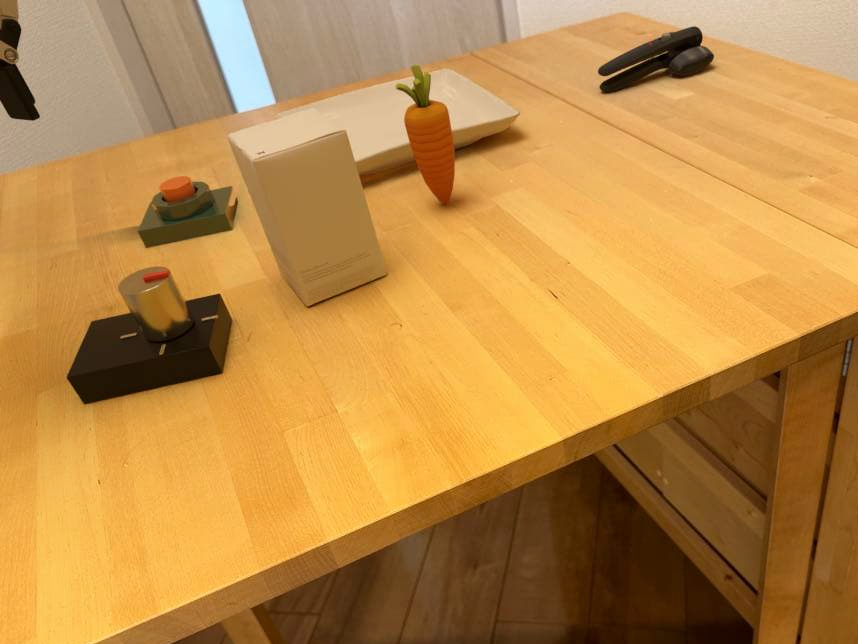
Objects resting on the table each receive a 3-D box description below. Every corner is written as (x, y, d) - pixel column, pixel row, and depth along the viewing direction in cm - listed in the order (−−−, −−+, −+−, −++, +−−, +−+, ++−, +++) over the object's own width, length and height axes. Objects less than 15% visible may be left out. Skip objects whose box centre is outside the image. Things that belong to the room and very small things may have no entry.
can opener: (692, 58, 116) (692, 18, 112) (718, 69, 111) (719, 27, 107) (587, 87, 112) (584, 47, 108) (610, 100, 106) (607, 58, 103)
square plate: (527, 139, 100) (523, 109, 97) (325, 201, 92) (315, 171, 90) (453, 88, 119) (448, 62, 116) (281, 136, 112) (272, 110, 109)
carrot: (455, 215, 85) (426, 76, 76) (417, 212, 87) (383, 77, 77) (473, 194, 89) (447, 60, 79) (436, 193, 90) (405, 60, 81)
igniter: (146, 248, 89) (129, 217, 86) (157, 218, 95) (143, 188, 92) (232, 230, 90) (218, 198, 87) (238, 202, 96) (225, 171, 93)
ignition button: (163, 206, 88) (156, 192, 87) (168, 193, 91) (161, 179, 90) (194, 199, 89) (188, 185, 87) (198, 187, 91) (192, 173, 90)
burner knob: (140, 346, 67) (110, 295, 63) (149, 319, 70) (121, 269, 66) (190, 335, 67) (164, 283, 63) (197, 309, 70) (172, 258, 67)
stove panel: (83, 404, 66) (64, 376, 64) (106, 346, 73) (90, 319, 71) (225, 372, 67) (211, 343, 65) (235, 318, 74) (222, 290, 72)
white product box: (391, 275, 77) (348, 128, 67) (307, 309, 74) (249, 160, 64) (358, 243, 83) (315, 104, 73) (279, 273, 80) (223, 133, 70)
